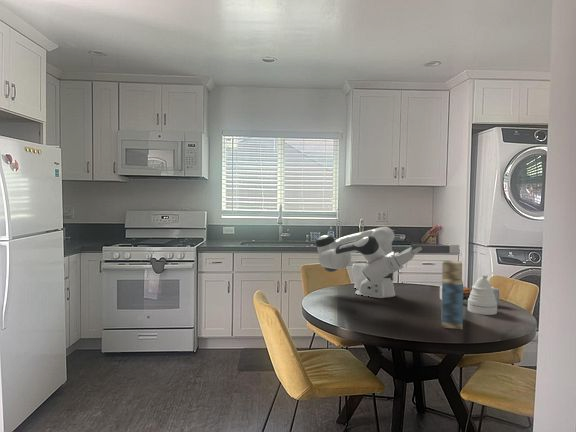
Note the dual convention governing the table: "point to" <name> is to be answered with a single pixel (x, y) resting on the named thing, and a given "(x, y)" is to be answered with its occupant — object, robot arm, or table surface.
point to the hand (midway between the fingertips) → (421, 247)
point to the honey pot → (482, 298)
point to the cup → (358, 274)
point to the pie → (466, 292)
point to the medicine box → (496, 295)
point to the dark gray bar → (438, 248)
